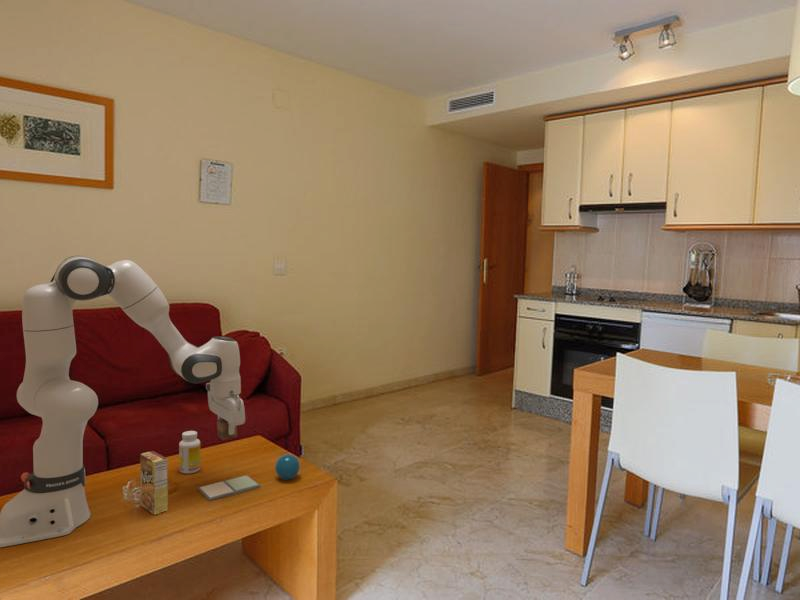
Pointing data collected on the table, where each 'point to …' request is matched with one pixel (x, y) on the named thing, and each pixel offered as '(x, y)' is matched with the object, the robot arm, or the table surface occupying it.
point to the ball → (287, 466)
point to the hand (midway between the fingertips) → (227, 431)
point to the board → (228, 487)
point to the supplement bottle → (189, 453)
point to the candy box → (154, 482)
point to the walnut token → (224, 430)
